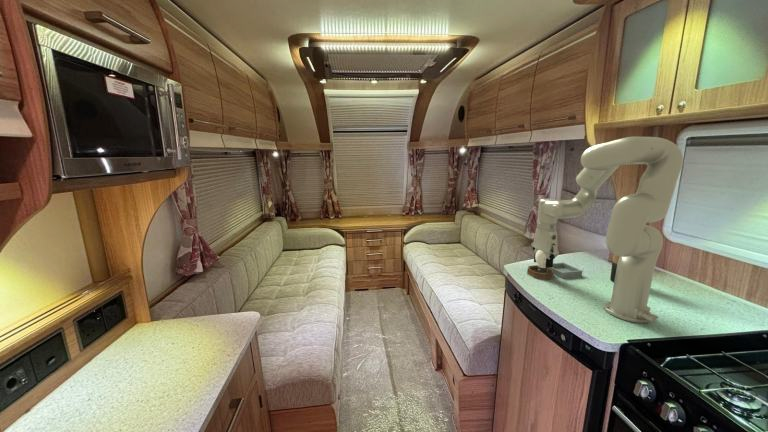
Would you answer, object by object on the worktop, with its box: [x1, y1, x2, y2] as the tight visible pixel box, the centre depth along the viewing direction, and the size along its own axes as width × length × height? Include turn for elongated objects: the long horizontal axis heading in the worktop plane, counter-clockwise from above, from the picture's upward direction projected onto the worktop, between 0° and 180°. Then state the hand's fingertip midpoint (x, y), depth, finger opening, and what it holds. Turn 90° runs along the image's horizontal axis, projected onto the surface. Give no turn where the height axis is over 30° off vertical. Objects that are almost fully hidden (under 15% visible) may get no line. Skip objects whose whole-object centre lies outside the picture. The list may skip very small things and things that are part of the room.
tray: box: [550, 262, 583, 279], centre depth 139 cm, size 11×11×3 cm
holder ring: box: [526, 264, 554, 280], centre depth 136 cm, size 10×10×2 cm
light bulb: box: [535, 250, 551, 273], centre depth 134 cm, size 7×7×11 cm
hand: (542, 264), depth 135 cm, fingers closed on light bulb, 6 cm apart
